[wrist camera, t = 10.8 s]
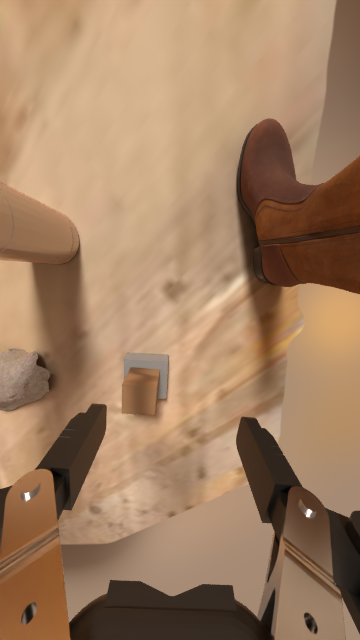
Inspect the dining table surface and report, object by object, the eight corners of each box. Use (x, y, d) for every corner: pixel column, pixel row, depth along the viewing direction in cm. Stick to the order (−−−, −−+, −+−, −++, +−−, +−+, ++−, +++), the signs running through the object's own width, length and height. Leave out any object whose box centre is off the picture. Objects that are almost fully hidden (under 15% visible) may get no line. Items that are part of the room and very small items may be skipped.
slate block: (128, 387, 43) (124, 397, 39) (128, 351, 40) (123, 359, 37) (167, 388, 43) (166, 399, 40) (168, 353, 41) (168, 361, 37)
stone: (-4, 343, 43) (23, 395, 47) (-57, 364, 35) (-18, 423, 40) (41, 343, 38) (67, 401, 42) (-8, 367, 30) (30, 434, 35)
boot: (235, 137, 30) (577, -646, 4) (290, 132, 30) (961, -693, 4) (237, 289, 37) (380, 331, 11) (282, 285, 37) (535, 317, 11)
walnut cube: (129, 392, 39) (121, 413, 33) (130, 367, 37) (122, 384, 32) (158, 394, 39) (154, 415, 33) (159, 369, 38) (156, 386, 32)
